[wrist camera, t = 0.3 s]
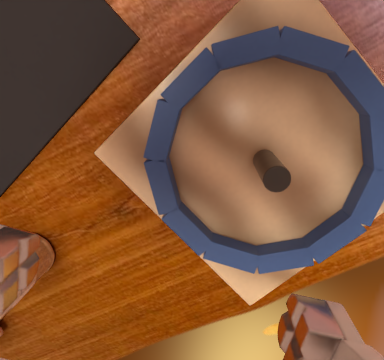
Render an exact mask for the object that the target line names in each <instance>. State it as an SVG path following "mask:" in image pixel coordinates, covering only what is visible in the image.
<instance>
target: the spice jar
mask: <svg viewBox="0 0 384 360" xmlns="http://www.w3.org/2000/svg"><path fill="white" fill-rule="evenodd" d="M35 252H36V253H37V255H38V257H39V267H38V271H37V274H36V275H35V277H34V279H33V281H32V282H31V283H30V284H29V286H28V287H27V288H25V289H22V290H20V291H18V293H17V299H16V300H15V301H14V302H13V303H12V304H11V305H10V306H9V307H8V308H7V309H6V310H5V311H4V312H3V313H0V320H1V319H2V318H3V317H4V316H5V315H6V314H7V313H8V312H9V311H10V310H11V309H12V308H13V307H14V306H15V305H16V304H17V303H18V302H19V301H20V299H21V298H22V297H23V296H24V295H25V294H26V293H27V292H28V291H29V290H30V289H31V288H32V286H33V285H34V283H35V282H36V281H37V280H38V279H39V278H40V277H41V276H42V275H43V274H44V273H45V272H46V271H48V270H49V269H50V268H51V266H52V265H53V262H54V257H55V254H54V251H53V248H52V246H51V245H50V243H49V242H48V241H47V240H46V239H44V238H43V237H41V236H40V247H39V248H38V249H37V250H36V251H35Z"/></svg>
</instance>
